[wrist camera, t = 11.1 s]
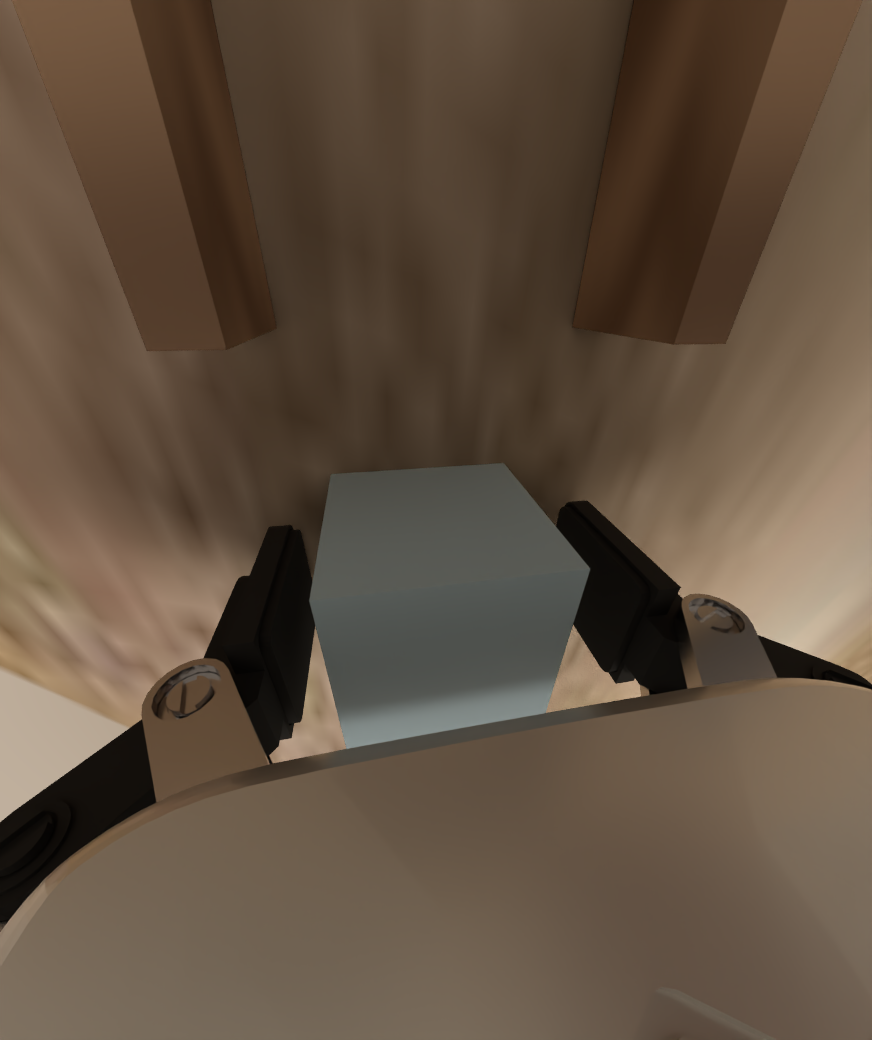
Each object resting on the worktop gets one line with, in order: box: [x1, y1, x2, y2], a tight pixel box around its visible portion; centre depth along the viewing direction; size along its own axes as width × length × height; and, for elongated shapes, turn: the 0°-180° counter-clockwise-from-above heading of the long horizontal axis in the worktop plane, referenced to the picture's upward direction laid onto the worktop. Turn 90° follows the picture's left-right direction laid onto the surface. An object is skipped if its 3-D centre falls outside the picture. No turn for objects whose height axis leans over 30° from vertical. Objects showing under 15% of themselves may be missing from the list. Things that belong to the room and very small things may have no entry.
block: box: [309, 463, 590, 749], centre depth 10 cm, size 7×5×5 cm
